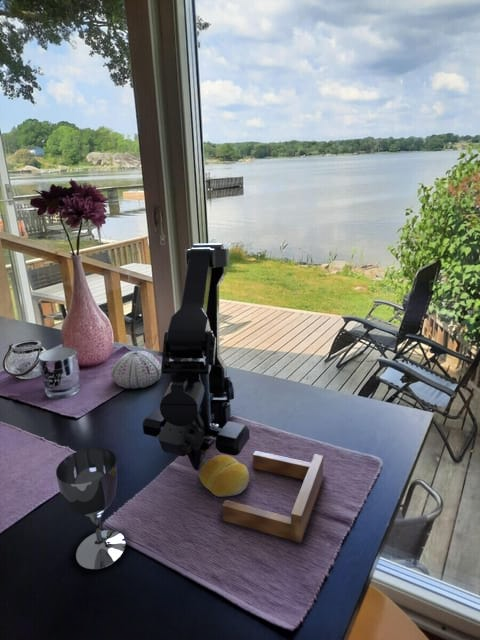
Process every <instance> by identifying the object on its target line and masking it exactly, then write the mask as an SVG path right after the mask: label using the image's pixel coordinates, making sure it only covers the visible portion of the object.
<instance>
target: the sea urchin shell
mask: <svg viewBox="0 0 480 640" xmlns="http://www.w3.org/2000/svg"><path fill="white" fill-rule="evenodd" d="M161 368H162V363H160V361H159V359H157V357H155V355H153V354H152V353H150V352H148V351H147V350H146V351H145V350H137V351H129V352H127V353H125V354H123V355H122V356H121V357H120V358H119V359H118V360H116V363H114V366H112V369H111V373H110V376H111V378H112V381H114V383H115V384H116V385H118V386H119V387H122V388H124V389H128V390H129V389H132V390H133V389H141V388H142V389H144V388H146V387H150V386H152V385H153V384H155V383H156V382H158V381H159V380H160V379H161V377H162V373H161Z"/></svg>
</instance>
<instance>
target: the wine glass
mask: <svg viewBox="0 0 480 640" xmlns="http://www.w3.org/2000/svg"><path fill="white" fill-rule="evenodd" d="M55 475H56V481H57V482H56V483H57V485H58V490H59V492H60V495H61V497H62V499H63V501H64V503H65V505H66V507H67V508H68V509H69V510H70V511H71V512H72V513H74V514H76V515H78V516H80V517H84V518H87V519H89V521H90V522H91V524H92V527H93V529H94V533H92V534H90V535H89V536H87V537H86V538H84V539H83V540H82V542H81V543H80V544H79V545H78V547H77V549H76V553H75V560H76V562H77V564H78V565H79V566H80V567H82V568H84V569H86V570H100V569H104V568H107V567H109V566H111V565H112V564H114V563H116V561H118V560H119V559H120V558H121V556H122V555H123V554H124V552H125V549H126V545H127V543H126V542H127V541H126V538H125V537H124V535H123V534H122V533H120V532H119V531H117V530H113V529H112V530H111V529H105V530H102V524H101V523H102V516H103V514H104V512H105V511H106V510H107V509H108V508H109V507H110V506H111V505H112V503H113V501H114V500H115V499H116V495H117V491H118V483H119V470H118V462H117V456H116V454H115V453H114V452H113V451H111V450H109V449H108V448H103V447H89V448H85V449H84V448H83V449H79V450H77V451H75V452H73V453H71V454H69V455H68V456H66V457H65V458H64V459H62V461H60V462H59V464H58V465H57V467H56V470H55Z"/></svg>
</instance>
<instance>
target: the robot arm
mask: <svg viewBox="0 0 480 640" xmlns="http://www.w3.org/2000/svg"><path fill="white" fill-rule="evenodd" d="M184 257H185V258H184V262H185V265H184V266H185V268H186V273H185V279H184V285H183V290H182V297H181V302H180V307H179V309H178V310H177V311H175V313H174V314H172V316H171V317H170V319H169V323H168V324H169V325H168V328H167V330H165V331H164V336H163V344H162V356H161V358H162V359H161V366H162V367H161V374H167V375H168V374H170V383H169V385H168V387H167V389H166V391H165V393H164V394H163V397H162V399H161V401H160V404H159V406H157V407H156V408H155V409H154V410H153V411H152V412H150V413H149V414H148V415H147V416H146V417H145V418H144V419H143V420H142V424H141V426H142V432H143V434H144V435H146V436H151V437H155V438H157V439H158V442H159V444H160V446H161V450H162V451H163V452H164V453H165V454H172V455H177V456H178V457H187V458H188V460H189V462H190V464H191V466H192V468H193V470H194V471H197V472H199V470H201V467H202V466H203V463H204V460H205V457H206V455H207V452H208V451H209V450H210V449H211V448H212V446H213V445H214V446H215V449H216V450H217V451H218V452H219V453H220V454H223V455H229V456H231V457H235V456H238V455H239V454H240V453H241V451H242V450H243V449H244V447H245V446H246V445H247V443H248V441H249V440H250V428H249V426H248V425H246V424H243V423H239V422H234V421H231V420H232V417H233V415H232V414H231V413H232V412H231V401H232V400H234V399H235V389H234V388H235V387H234V384H233V382H232V380H231V377H230V375H228V367H227V365H226V363H225V361H224V360H223V357H222V356H221V355H220V286H221V284H222V283H223V280H224V279H225V278H226V276H227V267H229V266H230V249H229V248H224V243H220V242H219V243H193V244H192V247H191V248H188V249H187V248H186V249H184ZM171 358H172V359H180V360H176V361H175V360H171Z"/></svg>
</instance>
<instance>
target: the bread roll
mask: <svg viewBox="0 0 480 640" xmlns="http://www.w3.org/2000/svg"><path fill="white" fill-rule="evenodd" d="M199 470H200V471H199V474H198V475H199V477H198V478H199V480H200V482H201V484H202V485H203V486H204V487H205V488H206V489H207V490H209V491H210V492H211V493H212V494H213V495H214V496H215V497H218V498H226V497H232V496H237V495H240V494H241V493H243V492H244V491H245V490H246V489H247V487H248V485H249V482H250V473H249V472H250V471H249V469H248V467H247V466H246V465H245V464H243V463H240V462H239V461H238V460H237V459H236V458H235V457H234V456H232V455H228V454H218V455H215V456H213V457H211V458H210V459H208V460H207V461H206V462H205V463H203V464H202V465H201V468H200V469H199Z"/></svg>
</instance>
